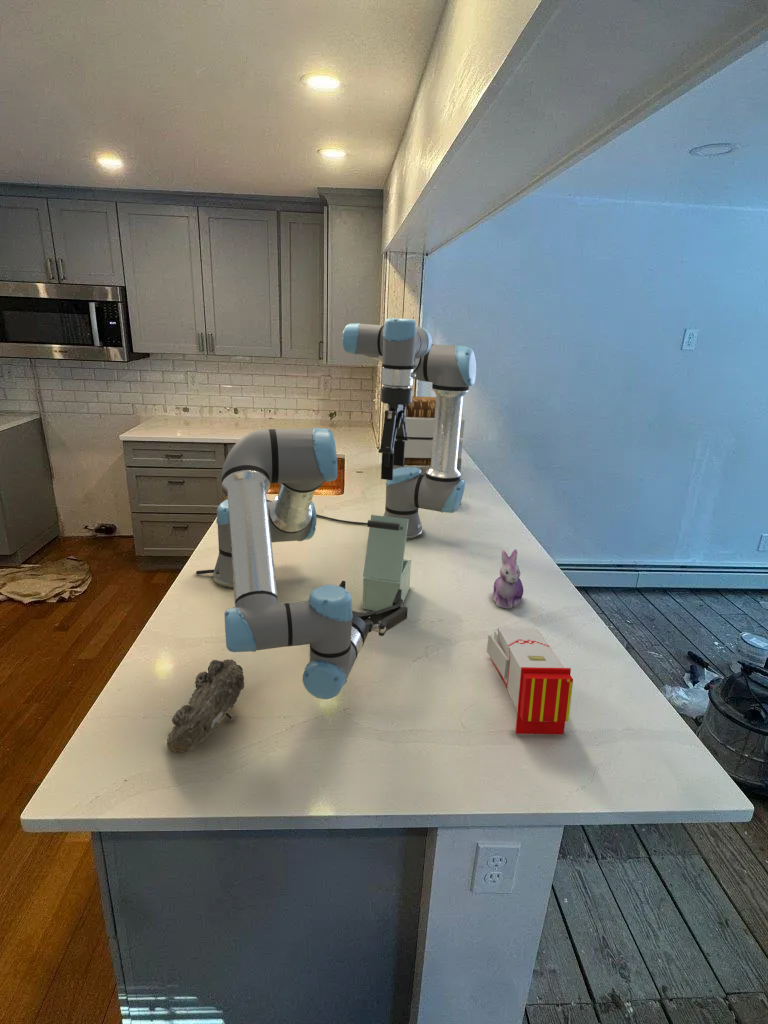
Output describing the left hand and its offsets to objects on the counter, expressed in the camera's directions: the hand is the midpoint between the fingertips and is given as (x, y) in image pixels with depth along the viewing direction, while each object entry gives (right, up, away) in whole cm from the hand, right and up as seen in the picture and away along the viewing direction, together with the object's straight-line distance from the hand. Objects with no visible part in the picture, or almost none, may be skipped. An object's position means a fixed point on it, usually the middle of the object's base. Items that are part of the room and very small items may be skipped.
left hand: (371, 590), depth 133 cm
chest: (+4, -5, +22) cm, 23 cm away
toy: (+32, -19, -13) cm, 40 cm away
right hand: (+5, +28, +9) cm, 30 cm away
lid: (+4, +9, +13) cm, 16 cm away
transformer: (+20, +37, +142) cm, 148 cm away
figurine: (+37, -6, +23) cm, 44 cm away
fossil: (-30, -21, -25) cm, 44 cm away
